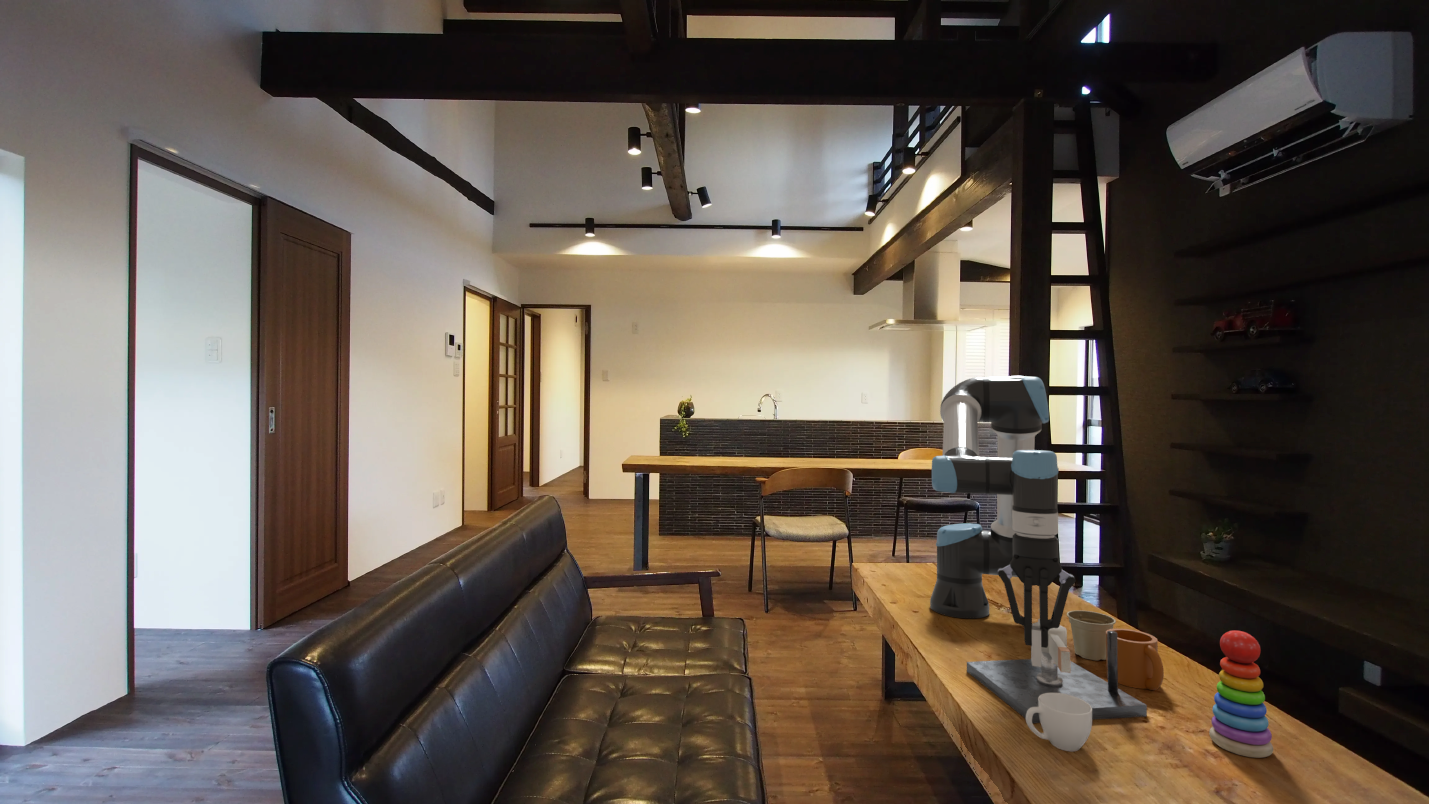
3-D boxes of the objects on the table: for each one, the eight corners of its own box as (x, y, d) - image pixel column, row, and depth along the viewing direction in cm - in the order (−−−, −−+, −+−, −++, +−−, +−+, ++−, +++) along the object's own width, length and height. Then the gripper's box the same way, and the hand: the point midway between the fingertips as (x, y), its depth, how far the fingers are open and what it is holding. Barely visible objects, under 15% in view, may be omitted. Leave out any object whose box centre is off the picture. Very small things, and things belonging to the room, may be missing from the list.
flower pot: (1123, 665, 134) (1123, 625, 134) (1075, 662, 136) (1075, 622, 136) (1105, 649, 143) (1105, 611, 144) (1060, 646, 145) (1060, 609, 145)
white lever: (1025, 635, 128) (1025, 616, 128) (1058, 638, 127) (1058, 618, 127) (1046, 670, 111) (1046, 647, 111) (1084, 674, 109) (1084, 651, 109)
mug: (1128, 695, 120) (1127, 648, 121) (1098, 670, 132) (1096, 627, 132) (1179, 697, 119) (1177, 649, 119) (1144, 672, 131) (1142, 628, 131)
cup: (1102, 758, 98) (1102, 714, 98) (1037, 756, 99) (1037, 713, 99) (1076, 733, 106) (1076, 693, 106) (1016, 731, 106) (1016, 691, 107)
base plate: (966, 671, 131) (966, 609, 131) (1064, 666, 134) (1063, 605, 134) (1031, 723, 109) (1030, 648, 110) (1146, 716, 112) (1145, 642, 112)
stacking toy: (1196, 735, 105) (1195, 623, 106) (1240, 733, 106) (1239, 621, 106) (1240, 761, 97) (1238, 640, 98) (1287, 759, 98) (1285, 638, 98)
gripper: (996, 535, 114) (997, 665, 114) (1078, 540, 109) (1079, 677, 109) (995, 528, 121) (996, 651, 121) (1073, 533, 116) (1074, 662, 116)
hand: (1036, 663), depth 115 cm, fingers closed
